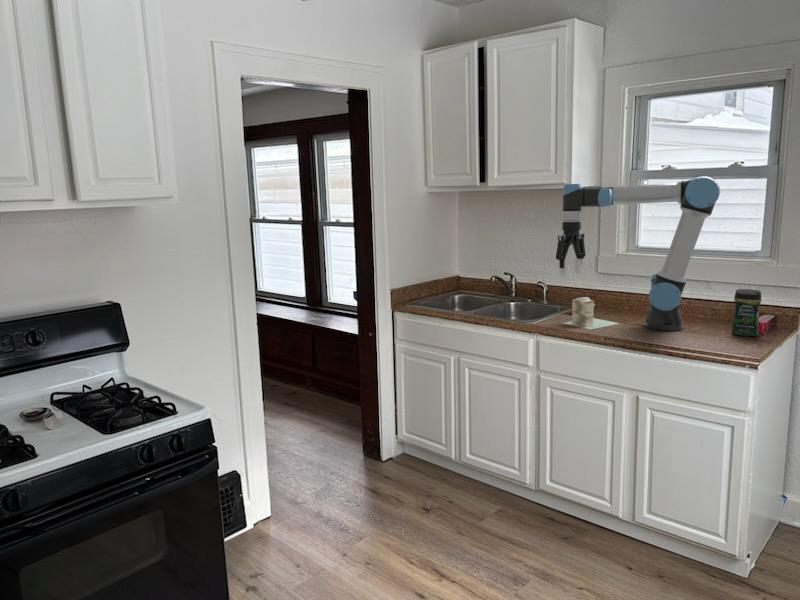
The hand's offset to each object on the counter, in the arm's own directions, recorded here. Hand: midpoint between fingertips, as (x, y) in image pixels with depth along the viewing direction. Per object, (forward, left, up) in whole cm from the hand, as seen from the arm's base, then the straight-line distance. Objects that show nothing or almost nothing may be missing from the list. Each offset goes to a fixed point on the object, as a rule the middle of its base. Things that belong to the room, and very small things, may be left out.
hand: (570, 274), depth 279 cm
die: (+16, -28, -24) cm, 40 cm away
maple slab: (0, -9, -23) cm, 25 cm away
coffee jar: (-52, -45, -24) cm, 73 cm away
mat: (0, -14, -23) cm, 27 cm away
